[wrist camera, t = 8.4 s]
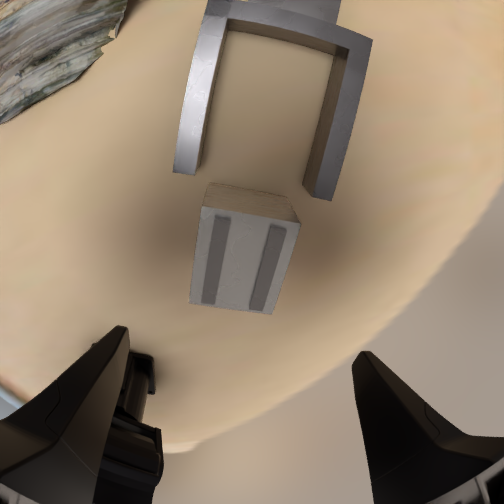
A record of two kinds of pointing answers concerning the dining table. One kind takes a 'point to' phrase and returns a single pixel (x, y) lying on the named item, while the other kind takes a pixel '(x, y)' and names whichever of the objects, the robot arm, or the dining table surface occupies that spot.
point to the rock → (49, 46)
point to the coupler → (292, 30)
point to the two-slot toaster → (242, 249)
